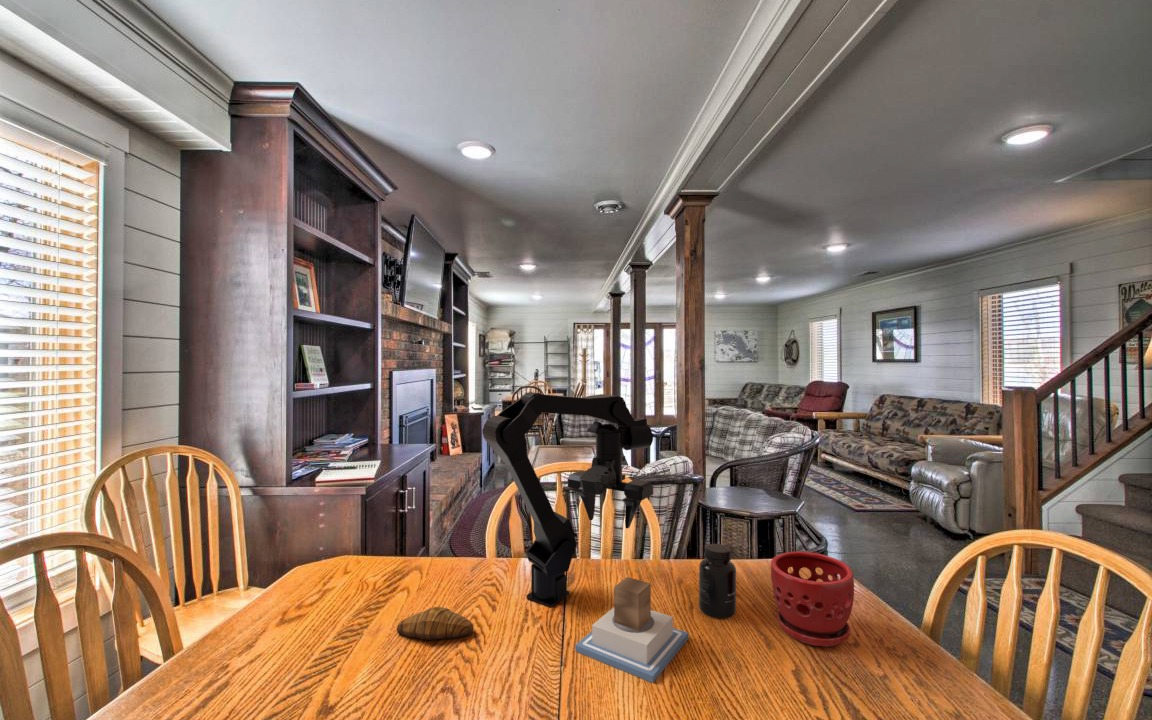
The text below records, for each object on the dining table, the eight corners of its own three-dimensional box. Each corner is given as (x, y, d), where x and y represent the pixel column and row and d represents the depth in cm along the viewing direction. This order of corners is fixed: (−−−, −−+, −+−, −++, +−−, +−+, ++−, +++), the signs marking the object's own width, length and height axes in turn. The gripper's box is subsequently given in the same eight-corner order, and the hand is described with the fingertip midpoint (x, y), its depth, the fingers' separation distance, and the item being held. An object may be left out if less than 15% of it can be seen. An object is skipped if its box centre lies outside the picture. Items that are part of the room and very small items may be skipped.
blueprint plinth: (575, 651, 81) (575, 626, 81) (617, 614, 93) (617, 592, 93) (652, 683, 73) (652, 655, 73) (688, 638, 85) (688, 614, 85)
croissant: (389, 645, 83) (388, 616, 83) (404, 624, 90) (404, 596, 90) (467, 648, 83) (467, 618, 83) (477, 625, 89) (477, 598, 89)
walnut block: (614, 622, 82) (614, 586, 82) (627, 610, 86) (627, 576, 86) (638, 630, 80) (638, 594, 80) (650, 618, 83) (650, 583, 83)
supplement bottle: (738, 622, 90) (738, 556, 90) (699, 618, 91) (699, 553, 91) (734, 603, 97) (734, 542, 97) (698, 600, 98) (698, 540, 98)
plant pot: (780, 606, 96) (780, 544, 96) (857, 627, 88) (858, 561, 88) (762, 637, 85) (762, 568, 85) (848, 665, 77) (848, 589, 77)
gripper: (552, 453, 106) (552, 526, 106) (629, 464, 96) (629, 544, 96) (581, 445, 115) (581, 512, 115) (654, 454, 105) (654, 528, 105)
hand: (609, 523), depth 108 cm, fingers open, 9 cm apart
